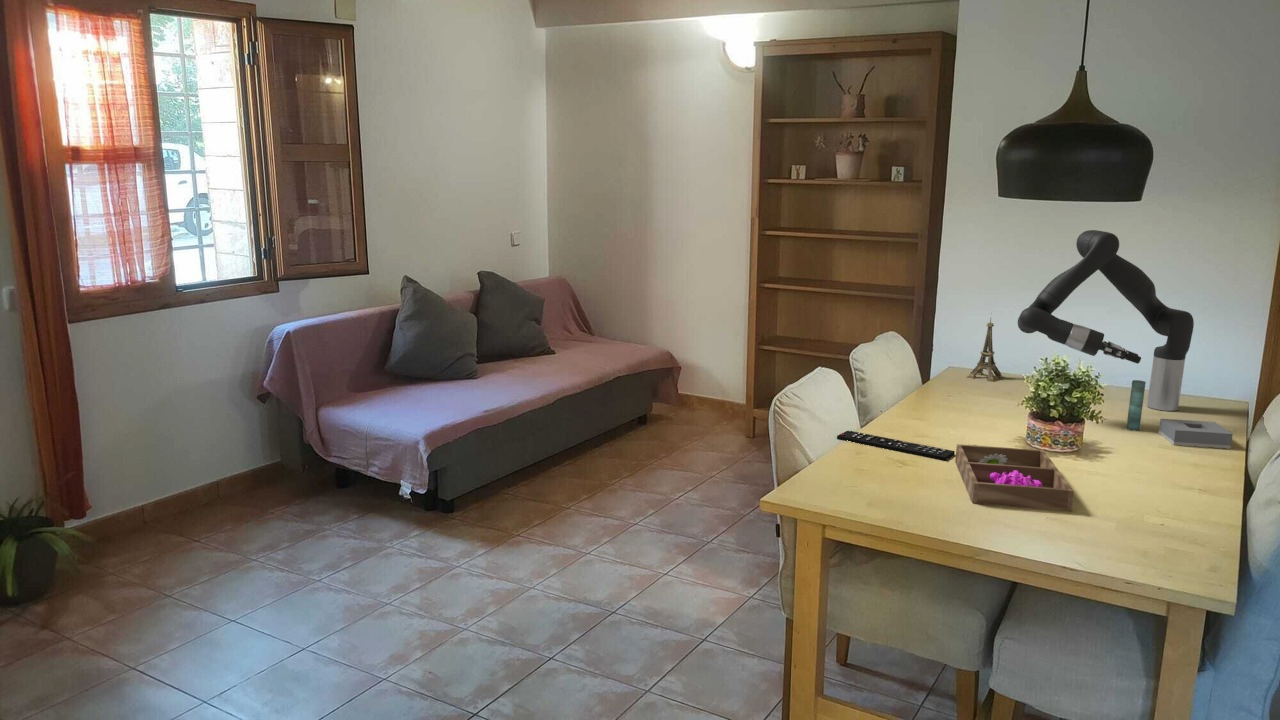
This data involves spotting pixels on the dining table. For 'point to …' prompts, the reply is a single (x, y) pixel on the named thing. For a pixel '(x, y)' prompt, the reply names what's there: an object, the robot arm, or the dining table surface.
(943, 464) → the dining table surface
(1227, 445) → the socket block
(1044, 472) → the walnut display tray
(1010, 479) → the magenta lumpy cluster
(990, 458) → the decorative flower
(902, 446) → the remote control
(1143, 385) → the teal pin
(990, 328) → the eiffel tower
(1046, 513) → the dining table surface
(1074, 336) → the robot arm
